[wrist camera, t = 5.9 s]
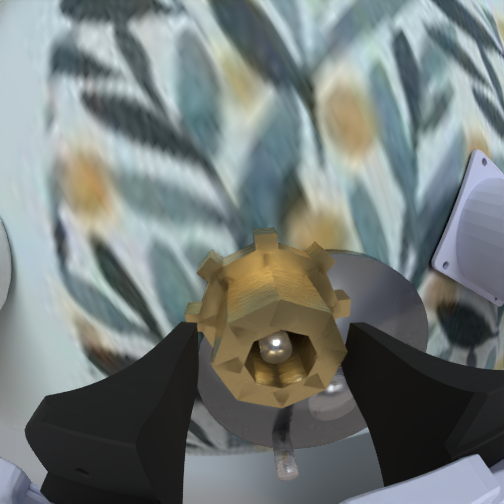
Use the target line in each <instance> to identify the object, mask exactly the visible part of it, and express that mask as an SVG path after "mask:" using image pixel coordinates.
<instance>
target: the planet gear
mask: <svg viewBox="0 0 504 504" xmlns="http://www.w3.org/2000/svg"><path fill="white" fill-rule="evenodd" d="M253 236H254V243H253V244H251V245H249V246H247V247H245V248H243V249H241V250H239V251H237V252H235V253H233V254H231V255H229V256H227V257H225V258H222V257H221V256H220V255H219V254H217V253H216V252H215V251H214V250H211V251H210V252H209V254H208V255H207V256H206V257H205V258H204V259H203V261H202V262H201V263H200V264H199V267H198V270H197V274H198V275H199V276H201V277H202V278H203V279H205V280H206V281H207V282H208V283H207V286H206V289H205V293H204V296H203V299H202V302H192V303H188V305H187V309H186V312H185V318H186V322H195V323H197V329H198V332H199V331H202V332H203V334H204V335H205V337H206V338H207V340H208V341H209V343H210V344H211V346H212V347H213V349H212V350H211V360H210V364H211V365H212V367H213V369H214V370H215V372H216V373H217V374H218V376H219V377H220V378H221V380H222V381H223V382H224V384H225V385H226V386H227V388H228V389H229V390H230V392H231V393H232V394H233V396H234V397H235V398H236V399H237V400H239V401H244V402H249V403H255V404H260V405H266V406H272V407H278V408H284V407H286V406H289V405H291V404H294V403H296V402H299V401H301V400H303V399H306V398H308V397H310V396H312V395H315V394H317V393H319V392H321V391H324V390H326V388H327V387H328V385H329V383H330V382H331V380H332V378H333V377H334V375H335V373H336V371H337V370H338V368H339V366H340V364H341V363H342V361H343V359H344V357H345V355H346V354H347V349H346V347H345V344H344V342H343V339H342V337H341V334H340V332H339V329H338V327H337V324H336V322H335V321H336V319H337V318H342V317H349V316H350V304H351V299H350V297H349V296H348V295H347V294H346V293H345V292H344V290H343V289H338V290H333V288H332V285H331V283H330V280H329V278H328V275H327V273H326V272H327V271H328V270H329V269H330V268H331V267H332V266H333V265H334V264H335V263H336V261H335V260H334V259H333V258H332V257H331V256H330V255H329V254H328V253H327V252H326V251H325V250H324V249H323V248H322V247H320V246H319V245H318V244H317V243H316V242H314V243H313V244H312V245H311V246H310V247H309V248H308V250H307V251H306V252H304V251H301V250H298V249H295V248H292V247H289V246H286V245H283V244H280V243H278V233H277V232H276V230H275V229H274V227H273V228H259V229H253ZM279 330H286V331H287V333H288V336H289V339H290V342H291V345H292V353H291V355H290V357H289V358H288V359H287V360H286V361H284V362H282V363H278V364H272V363H268V362H266V361H265V360H264V359H263V358H262V357H261V353H260V347H259V341H258V340H259V339H261V338H263V337H266V336H268V335H270V334H272V333H274V332H277V331H279Z"/></svg>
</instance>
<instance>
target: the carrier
mask: <svg viewBox="0 0 504 504" xmlns="http://www.w3.org/2000/svg"><path fill="white" fill-rule="evenodd" d="M325 251H326V252H327V253H328V254H329V255H330V256H331V257H332V258H333V259H334V260H335V261H336V263H335V264H334V265H333V266H332V267H331V268H330V269H329V270H328V271H327V272H326V273H327V275H328V278H329V280H330V283H331V285H332V288H333V290H338V289H343V290H344V292H345V293H346V294H347V295H348V296H349V297H350V299H351V304H350V316H349V317H342V318H337V319H336V321H335V322H336V324H337V327H338V329H339V332H340V334H341V337H342V339H343V342H344V344H346V339H347V335H348V330H349V325H350V323H357V322H365V323H367V324H369V325H372V326H374V327H376V328H377V329H379V330H381V331H383V332H385V333H387V334H389V335H390V336H392V337H394V338H396V339H398V340H400V341H402V342H403V343H405V344H407V345H409V346H411V347H414V348H416V349H418V350H420V351H422V352H424V353H425V352H426V348H427V342H428V320H427V314H426V311H425V308H424V305H423V302H422V300H421V298H420V296H419V294H418V293H417V291H416V290H415V288H414V287H413V286H412V285H411V283H410V282H409V281H408V280H407V279H406V278H404V277H403V276H402V275H401V274H400V273H398V272H397V271H396V270H394V269H393V268H391V267H390V266H388V265H387V264H385V263H383V262H381V261H380V260H378V259H376V258H373V257H371V256H368V255H365V254H363V253H358V252H353V251H348V250H334V249H329V250H325ZM258 341H259V347H260V353H261V357H262V358H263V359H264V360H265V361H266V362H268V363H272V364H278V363H282V362H284V361H286V360H287V359H288V358H289V357H290V355H291V353H292V345H291V342H290V339H289V336H288V333H287V331H286V330H279V331H277V332H274V333H272V334H270V335H268V336H266V337H263V338H261V339H259V340H258ZM212 349H213V347H212V346H211V344H210V343H209V341H208V340H207V338H206V337H205V335H204V334H203V336H202V339H201V342H200V348H199V354H198V355H199V372H198V389H199V393H200V395H201V398H202V400H203V403H204V405H205V406H206V408H207V409H208V411H209V413H210V414H211V415H212V416H213V417H214V419H215V420H216V421H217V422H218V423H219V424H220V425H222V426H223V427H224V428H225V429H226V430H228V431H229V432H231V433H233V434H234V435H236V436H238V437H240V438H242V439H244V440H246V441H249V442H252V443H255V444H258V445H262V446H267V447H273V450H274V456H275V462H276V469H277V474H278V479H279V480H282V481H289V480H293V479H295V478H297V477H298V475H299V473H298V469H297V465H296V460H295V456H294V451H293V449H299V448H309V447H315V446H321V445H325V444H329V443H332V442H335V441H338V440H341V439H344V438H346V437H348V436H351V435H353V434H355V433H357V432H359V431H361V430H363V429H364V428H366V427H368V426H367V424H366V422H365V420H364V418H363V416H362V414H361V412H360V410H359V408H358V406H357V404H356V402H355V400H354V398H353V396H352V394H351V392H350V389H349V387H348V385H347V383H346V380H345V377H344V374H343V370H342V367H341V364H340V366H339V368H338V370H337V371H336V373H335V375H334V377H333V378H332V380H331V382H330V383H329V385H328V387H327V388H326V390H324V391H321V392H319V393H317V394H315V395H312V396H310V397H308V398H306V399H303V400H301V401H299V402H296V403H294V404H291V405H289V406H286V407H284V408H278V407H272V406H266V405H260V404H255V403H249V402H244V401H239V400H237V399H236V398H235V397H234V396H233V394H232V393H231V392H230V390H229V389H228V388H227V386H226V385H225V384H224V382H223V381H222V380H221V378H220V377H219V376H218V374H217V373H216V372H215V370H214V369H213V367H212V365H211V364H210V360H211V350H212Z"/></svg>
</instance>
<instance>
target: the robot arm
mask: <svg viewBox="0 0 504 504" xmlns="http://www.w3.org/2000/svg"><path fill="white" fill-rule="evenodd" d="M482 161H483V164H482ZM444 262H445V265H444V267H443V264H444ZM432 267H433V268H434V269H436V270H438V271H439V272H441V273H443V274H445V275H447V276H448V277H450V278H452V279H454V280H455V281H457V282H459V283H460V284H462V285H464V286H466V287H467V288H469V289H471V290H472V291H474V292H476V293H477V294H479V295H481V296H482V297H484V298H485V299H487V300H489V301H490V302H492V303H494V304H495V305H497V306H498V307H500V306H502V305H503V303H504V174H503V173H502V172H501V171H500V170H499V169H498V167H497V166H496V165H495V164H494V163H493V162H492V161H491V160H490V159H489V158H488V157H487V156H486V155H485V154H484V153H483V152H482V151H481V150H474V151H473V152H472V155H471V158H470V161H469V165H468V168H467V171H466V174H465V177H464V180H463V183H462V186H461V189H460V192H459V195H458V198H457V200H456V203H455V206H454V208H453V211H452V214H451V216H450V219H449V221H448V224H447V226H446V228H445V231H444V233H443V236H442V238H441V240H440V243H439V245H438V247H437V249H436V252H435V254H434V256H433V258H432ZM345 347H346V349H347V354H346V355H345V357H344V359H343V361H342V363H341V367H342V370H343V374H344V377H345V380H346V383H347V385H348V387H349V389H350V392H351V394H352V396H353V398H354V400H355V402H356V404H357V406H358V408H359V410H360V412H361V414H362V416H363V418H364V420H365V422H366V424H367V426H368V429H369V431H370V434H371V437H372V440H373V443H374V447H375V450H376V453H377V457H378V461H379V465H380V468H381V473H382V478H383V482H384V487H383V488H380V489H376V490H373V491H370V492H367V493H364V494H361V495H358V496H355V497H352V498H349V499H347V500H345V501H343V502H341V503H339V504H504V370H488V369H481V368H474V367H469V366H464V365H460V364H456V363H453V362H449V361H446V360H443V359H440V358H437V357H435V356H432V355H429V354H427V353H424V352H422V351H420V350H418V349H416V348H414V347H411V346H409V345H407V344H405V343H403V342H402V341H400V340H398V339H396V338H394V337H392V336H390V335H389V334H387V333H385V332H383V331H381V330H379V329H377V328H376V327H374V326H372V325H369V324H367V323H365V322H357V323H350V325H349V330H348V335H347V339H346V344H345ZM198 372H199V355H198V329H197V323H195V322H181V323H179V324H178V325H177V326H176V327H175V328H174V329H173V330H172V331H171V332H170V333H169V334H168V335H167V336H166V337H165V338H164V339H163V340H162V341H161V342H160V343H159V344H158V345H157V346H155V347H154V348H153V349H152V350H151V351H149V352H148V353H147V354H146V355H144V356H143V357H142V358H141V359H139V360H138V361H136V362H135V363H133V364H132V365H130V366H128V367H127V368H125V369H123V370H122V371H120V372H118V373H116V374H114V375H111V376H109V377H107V378H105V379H103V380H101V381H99V382H96V383H93V384H91V385H88V386H85V387H82V388H79V389H75V390H72V391H67V392H63V393H58V394H53V395H48V396H45V397H44V399H43V400H42V402H41V403H40V405H39V406H38V408H37V409H36V411H35V412H34V414H33V415H32V417H31V419H30V420H29V422H28V423H27V425H26V428H25V435H26V439H27V441H28V443H29V445H30V447H31V448H32V450H33V451H34V453H35V454H36V456H37V457H38V459H39V460H40V462H41V463H42V465H43V466H44V467H45V468H46V470H47V471H48V473H47V475H46V478H45V480H44V482H43V485H42V486H40V485H37V484H35V483H33V482H31V481H30V479H29V478H28V476H27V475H26V474H25V472H24V471H22V469H20V468H19V467H18V466H16V465H15V464H13V463H11V462H9V461H7V460H6V459H4V458H2V457H0V504H182V503H183V476H184V461H185V449H186V439H187V432H188V427H189V423H190V418H191V414H192V409H193V404H194V400H195V395H196V391H197V384H198Z"/></svg>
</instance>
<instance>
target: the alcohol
mask: <svg viewBox="0 0 504 504" xmlns="http://www.w3.org/2000/svg"><path fill="white" fill-rule="evenodd" d="M11 271H12V265H11V253H10V247H9V242H8V238H7V234H6V231H5V229H4V226H3V223H2V221H1V219H0V310H1V308H2V307H3V305H4V303H5V301H6V298H7V294H8V289H9V285H10V281H11Z"/></svg>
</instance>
